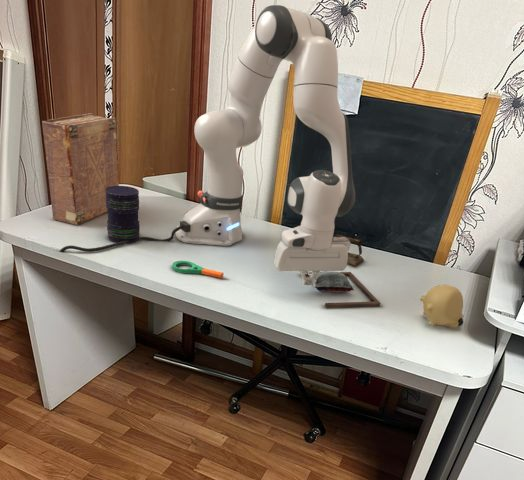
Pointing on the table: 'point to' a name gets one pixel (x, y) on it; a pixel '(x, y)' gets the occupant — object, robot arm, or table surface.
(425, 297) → the toy pig
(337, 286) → the packaged food
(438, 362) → the table surface
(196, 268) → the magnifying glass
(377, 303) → the bay
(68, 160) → the book
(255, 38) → the robot arm
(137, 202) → the dark blue cylinder
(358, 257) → the clothes iron
